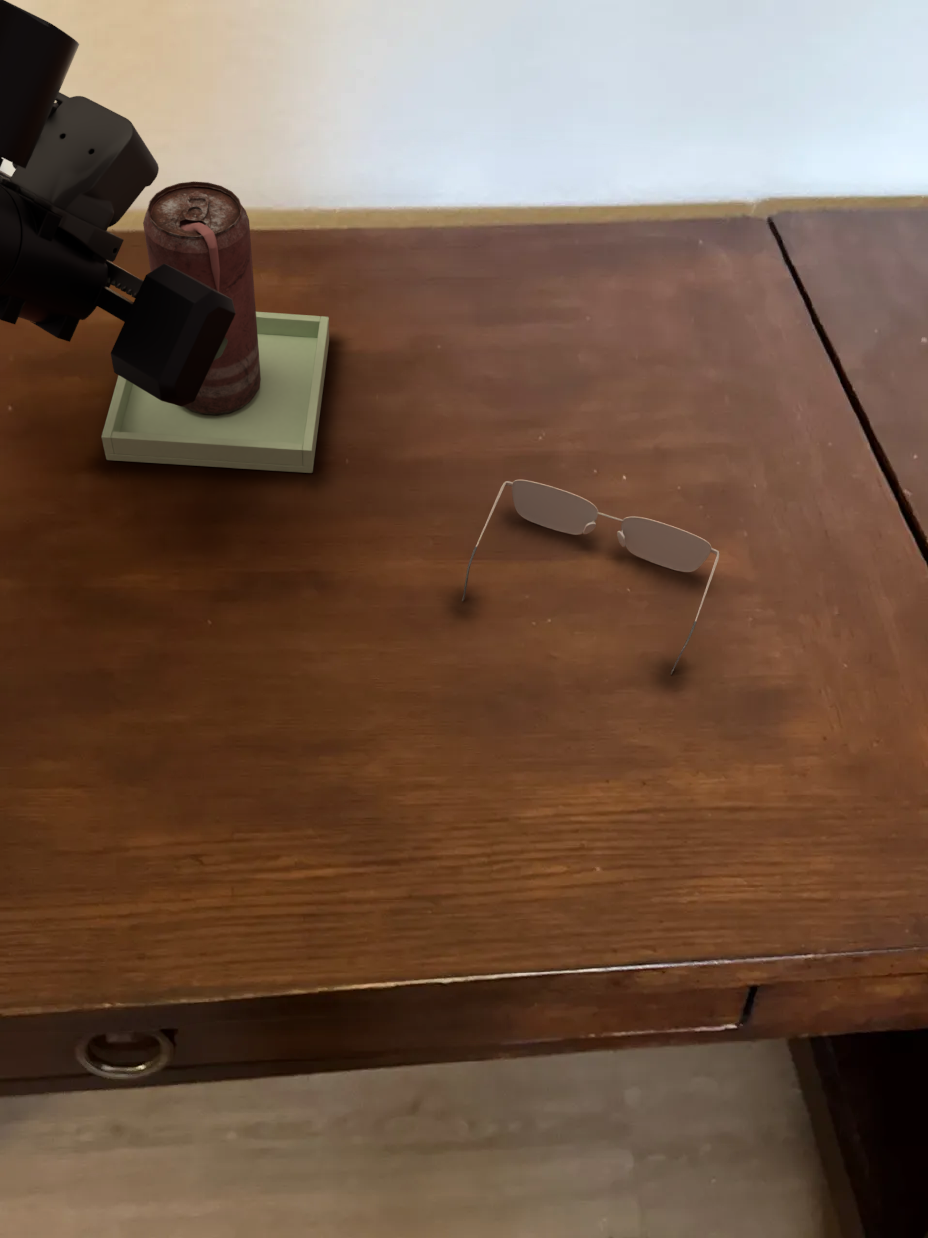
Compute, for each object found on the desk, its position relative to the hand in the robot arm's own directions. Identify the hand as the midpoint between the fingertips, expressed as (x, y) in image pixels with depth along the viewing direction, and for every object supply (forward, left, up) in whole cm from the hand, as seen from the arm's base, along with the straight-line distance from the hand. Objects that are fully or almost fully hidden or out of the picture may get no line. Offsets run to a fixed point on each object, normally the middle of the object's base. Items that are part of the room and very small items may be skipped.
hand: (164, 314), depth 73 cm
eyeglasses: (+26, -12, -10) cm, 30 cm away
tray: (+2, +3, -9) cm, 10 cm away
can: (+2, +3, -9) cm, 10 cm away
